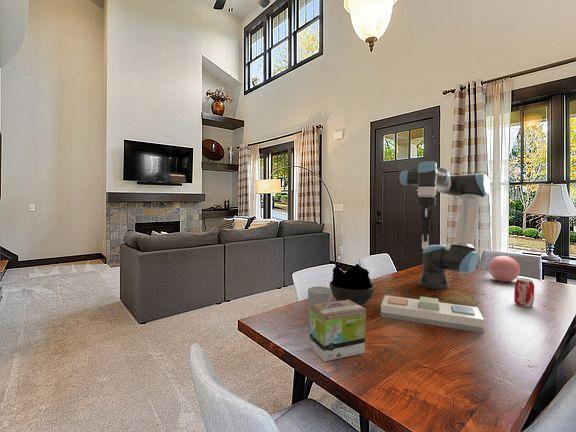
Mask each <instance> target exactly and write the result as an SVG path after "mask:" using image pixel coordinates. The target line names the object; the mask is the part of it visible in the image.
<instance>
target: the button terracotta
mask: <svg viewBox="0 0 576 432" xmlns="http://www.w3.org/2000/svg"><path fill="white" fill-rule="evenodd" d="M388 303H389V304H396V305H403V306H407V299H401V298H394V297H390V299H389V302H388Z"/></svg>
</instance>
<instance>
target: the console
mask: <svg viewBox="0 0 576 432" xmlns="http://www.w3.org/2000/svg"><path fill="white" fill-rule="evenodd" d="M390 297H394V298H401V299H407V306H403V305H396V304H389V303H388V302H389V299H390ZM452 305H455V306H462V307H470V308H472V309H473V312H474V315H467V314H460V313H453V312H452ZM380 318H384V319H385V318H386V319H392V320H399V321H405V322H412V323H419V324H423V325H430V326H436V327H443V328H448V329H449V328H450V329H454V330H455V329H456V330H463V331H466V332H467V331H469V332H475V333H481V334H484V325H485V324H484V322H485V318H484V316H483V315H482V313H481V311H480V310H479V307H477V306H476V307H472V306H465V305H457V304H449V303H441V302H440V301H439V310H432V309H424V308H420V299H418V298H417V299H416V298H409V297H402V296H394V295H386V294H385V295H384V297H383V299H382V301H381V304H380Z"/></svg>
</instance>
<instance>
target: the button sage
mask: <svg viewBox="0 0 576 432" xmlns="http://www.w3.org/2000/svg"><path fill="white" fill-rule="evenodd" d="M419 300H420V308H424V309H432V310H439V302H440V299H439V298H436V297H429V296H419Z"/></svg>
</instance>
